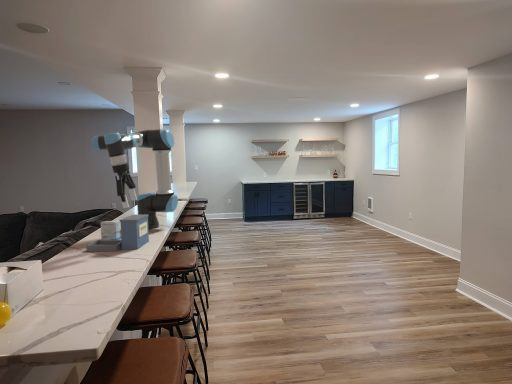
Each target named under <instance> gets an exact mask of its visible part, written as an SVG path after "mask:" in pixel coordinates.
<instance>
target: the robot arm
mask: <svg viewBox="0 0 512 384" xmlns="http://www.w3.org/2000/svg"><path fill="white" fill-rule="evenodd" d="M173 135H174V134H172V132H171V130H169V129H163V128H160V129H144V130H140V131H133V132H131V133H127V134H126V133H125V134H123V133H122V134H120V133H119V132H113V133H107V134H104V135H94V136H92V138H91V140H90V142H91V147H92V148H93V149H94V150H96V151H107V152H108V157H109V161H110V164H111V165H112V166H111V167H112V171H113V173H114V174H116V175H115V176H114V178H115V184H116V193H117V194H116V195H117V197H119V198H120V202H121V205H122V208H123V209H126V208H130V205H129V201H128V198H127V194H126V186H127V188H128V191H129V196H130V199H131V201H132V202H133V201H136V203H137V206H136V207H137V215H144V214H149V216H148V230H150V229H151V228H152V229H157V228H159V227H160V222H159V219H158V217H157V213H173V212H175V210H177V207H178V203H179V199H178V195H176V194H175V191H174V190H173V189H172V179H171V178H172V177H171V165H170V163H171V162H170V153H171V151H172V148H173V147H174V146H175V138H174V136H173ZM133 148H145V149H151V150H152V152H153V153H154V157H155V158H154V159H155V168H156V182H157V191H155V192H148V193H141V194H138V195H137V194H136V190H135V188H136V186H137V185H136V184H135V182H134V180H133V177H132V175H131V174H130V171H129V170H130V167H129V164H128V163H127V161H128V160H127V158H128V156H127V155H126V152H125V151H126V150H131V149H133Z"/></svg>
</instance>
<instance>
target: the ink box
mask: <svg viewBox="0 0 512 384" xmlns="http://www.w3.org/2000/svg"><path fill="white" fill-rule="evenodd" d="M100 237H101V239H100V240H121V222H120V220H105V221H101V222H100Z"/></svg>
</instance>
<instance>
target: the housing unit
mask: <svg viewBox="0 0 512 384" xmlns="http://www.w3.org/2000/svg"><path fill="white" fill-rule="evenodd" d="M148 216H149V214H144V215H138V214H131V215H128V216H126V217H123V218H121V219H119V223H120V240H121V242H122V248H121V250H139V249H141V248H142V247H143V246H145V245H146V244H147V243H149V242H150V236H149V234H150V233H149V229H148Z"/></svg>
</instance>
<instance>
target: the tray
mask: <svg viewBox="0 0 512 384" xmlns="http://www.w3.org/2000/svg"><path fill="white" fill-rule="evenodd" d="M119 250H122V242H121V239H120V240H101V239H98V240H96V241H94V242H90V243H89V244H86V251H87V252H118V251H119Z"/></svg>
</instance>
